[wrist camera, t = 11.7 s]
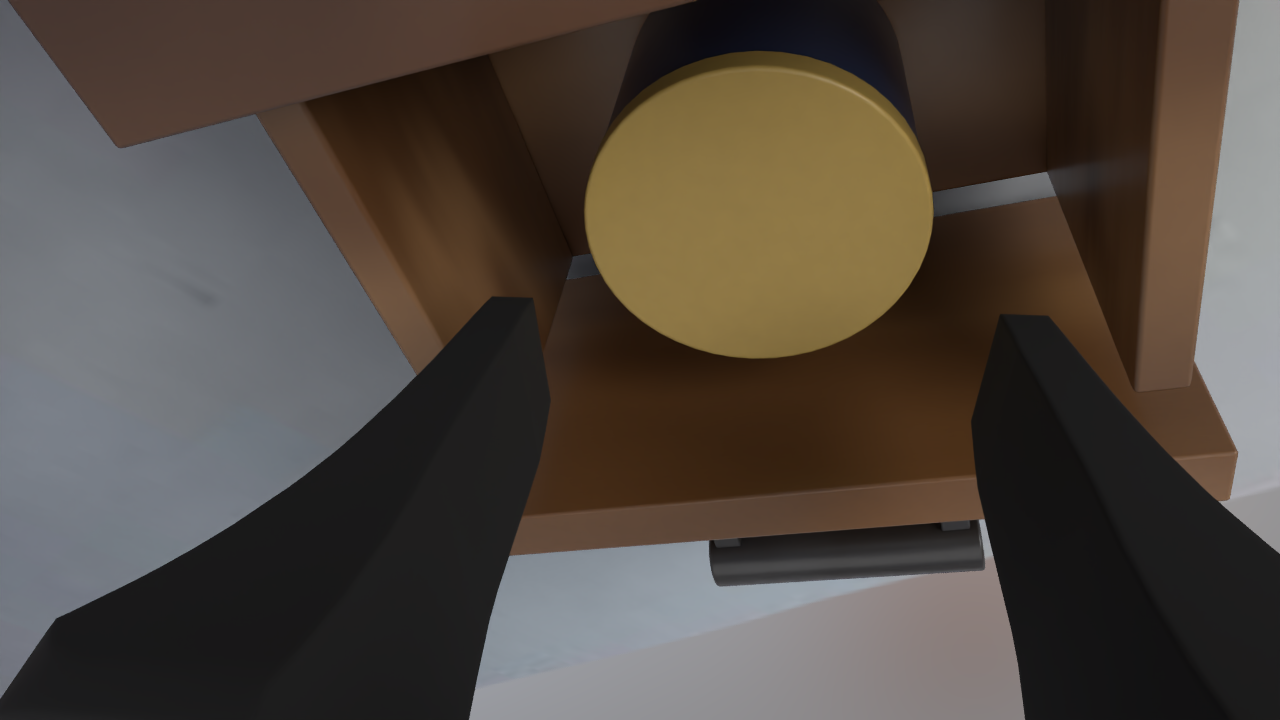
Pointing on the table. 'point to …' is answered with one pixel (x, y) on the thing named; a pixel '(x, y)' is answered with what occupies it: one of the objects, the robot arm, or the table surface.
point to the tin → (761, 176)
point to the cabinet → (275, 49)
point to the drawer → (848, 370)
